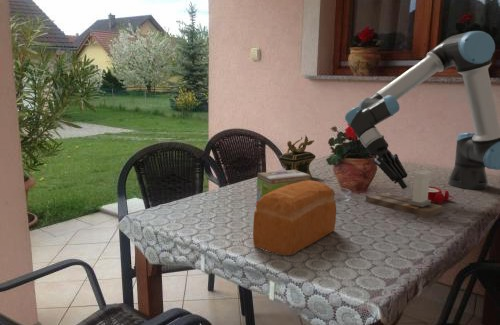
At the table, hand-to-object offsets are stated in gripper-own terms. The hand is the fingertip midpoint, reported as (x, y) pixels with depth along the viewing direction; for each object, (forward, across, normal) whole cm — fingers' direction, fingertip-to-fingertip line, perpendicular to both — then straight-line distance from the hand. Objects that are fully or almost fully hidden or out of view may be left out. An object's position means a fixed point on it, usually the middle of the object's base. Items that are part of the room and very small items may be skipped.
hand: (412, 195), depth 143 cm
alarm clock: (+3, -17, -4) cm, 18 cm away
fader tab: (+4, 0, 0) cm, 4 cm away
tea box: (-13, +41, -20) cm, 47 cm away
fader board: (+1, 0, -6) cm, 6 cm away
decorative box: (-38, -6, -46) cm, 60 cm away
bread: (-1, +52, -9) cm, 52 cm away
